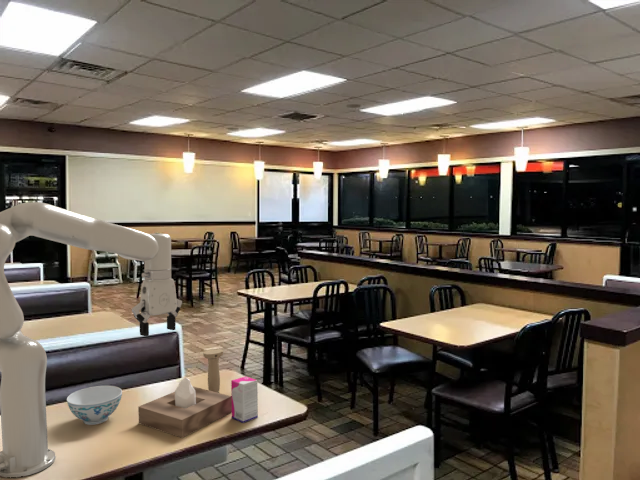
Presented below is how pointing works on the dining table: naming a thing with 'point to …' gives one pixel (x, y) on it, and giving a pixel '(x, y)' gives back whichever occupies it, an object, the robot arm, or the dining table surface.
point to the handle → (213, 369)
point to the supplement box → (244, 399)
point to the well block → (184, 412)
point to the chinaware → (94, 403)
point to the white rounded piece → (185, 394)
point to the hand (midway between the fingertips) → (158, 332)
